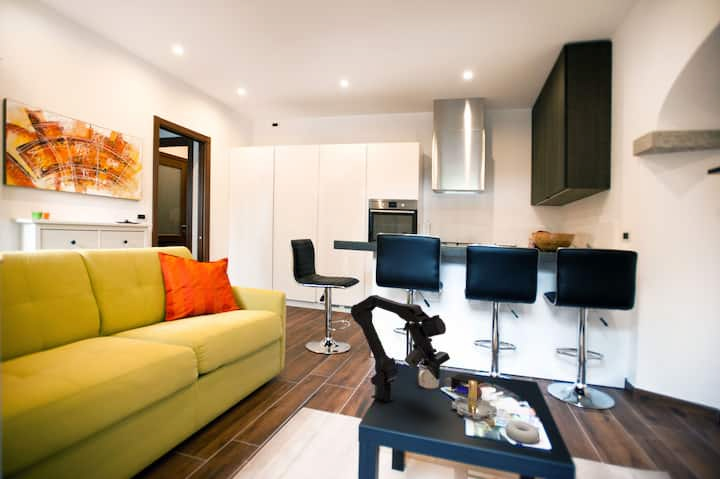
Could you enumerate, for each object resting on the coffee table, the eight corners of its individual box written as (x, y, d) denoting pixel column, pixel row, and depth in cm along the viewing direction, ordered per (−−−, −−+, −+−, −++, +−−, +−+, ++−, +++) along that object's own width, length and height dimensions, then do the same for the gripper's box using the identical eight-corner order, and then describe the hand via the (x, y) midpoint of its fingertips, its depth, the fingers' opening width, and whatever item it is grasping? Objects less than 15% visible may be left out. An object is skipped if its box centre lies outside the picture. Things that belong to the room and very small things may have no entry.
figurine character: (444, 394, 151) (477, 402, 140) (442, 375, 152) (475, 382, 141) (453, 390, 156) (485, 398, 145) (451, 372, 157) (484, 378, 146)
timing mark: (485, 422, 125) (485, 419, 125) (489, 421, 126) (489, 418, 126) (490, 425, 123) (490, 422, 123) (494, 424, 123) (494, 421, 123)
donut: (502, 438, 115) (536, 449, 109) (502, 427, 115) (536, 437, 110) (509, 426, 123) (541, 435, 118) (509, 416, 123) (541, 424, 118)
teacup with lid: (425, 379, 164) (426, 353, 164) (443, 385, 157) (444, 358, 158) (410, 386, 155) (410, 359, 155) (428, 392, 149) (429, 364, 149)
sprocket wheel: (443, 405, 134) (444, 373, 134) (470, 397, 143) (471, 367, 143) (477, 423, 122) (478, 387, 122) (505, 412, 130) (506, 379, 130)
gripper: (391, 347, 137) (407, 386, 136) (415, 350, 120) (434, 395, 119) (414, 334, 142) (430, 372, 141) (441, 335, 125) (459, 378, 124)
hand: (437, 379), depth 131 cm, fingers closed
